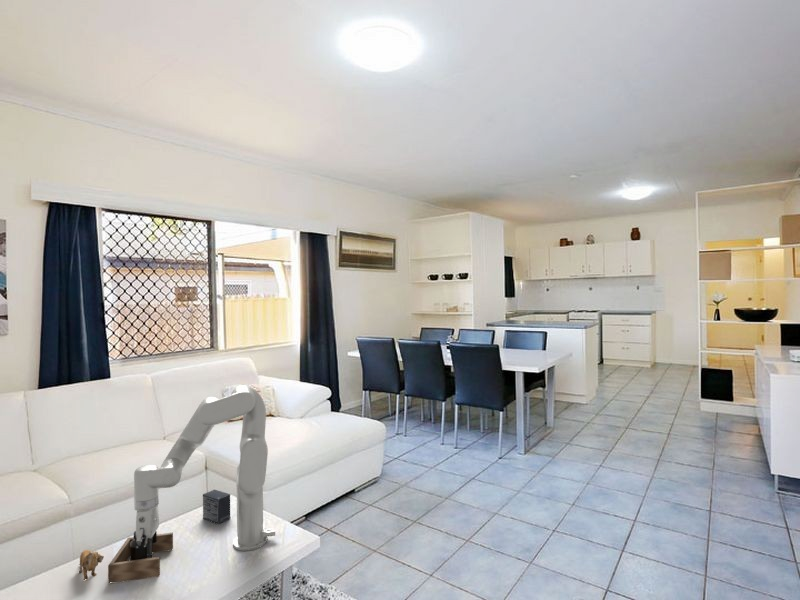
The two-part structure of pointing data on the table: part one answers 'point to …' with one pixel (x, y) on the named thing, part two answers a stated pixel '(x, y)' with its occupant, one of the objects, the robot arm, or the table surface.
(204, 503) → the small box
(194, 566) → the table surface
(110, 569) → the walnut u-shaped bracket
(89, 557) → the lion figurine
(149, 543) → the supplement bottle
